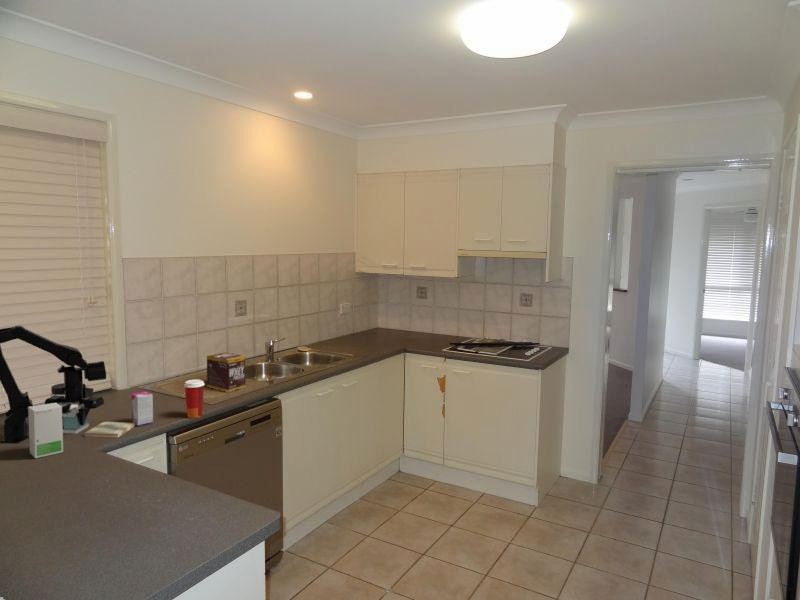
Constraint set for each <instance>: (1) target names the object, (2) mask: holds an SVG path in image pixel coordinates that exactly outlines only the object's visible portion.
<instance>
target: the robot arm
mask: <svg viewBox="0 0 800 600" xmlns="http://www.w3.org/2000/svg"><path fill="white" fill-rule="evenodd" d="M18 339H19V340H20V341H23V342H25V343H28V344H29V345H32V346H34V347H36V348H38V349H40V350H42V351H45V352H47V353H49V354H51V355H53V356H54V357H55V358H57V359H58V360H60V361H61V362H63V364H61V366H60V367H59V368H57V373H58V374H63V380H64V381H63V383H64V387H63V388H62V390H64V391H65V397H64V396H52V397H51V396H50V397H47V398H45V400H44V404H51V403H57V404H59V405H61V406H62V413H64V412H66V411H68V410H69V409H70V406H71V404H75V405H78V406H81V407H80V409H78V411H79V417H80V423H81V425H82V426H83V425H84V424H85V421H86V418H87V419H88V414H89V412H90V411H91V410H92V409H97V408H99V407H101V406H102V405H105V400H104V398H103V397H102V396H93V394H94V390H95V389H94V388H91V387H87V386H86V384H85V383H84V381H83V379H84V380H87V381H88V382H94V381H102V380H104V381H105V380H106V379H107V370H106V365H105V362H104V361H103V360H100V361H95V362H88V361H87V360H86V359H84V358H83V354H82V352H81V351H80V350H79V348H76V347H73V346H69V345H66V344H61V343H57V342H55V341H54V340H51V339H49V338H47V337H44V336H42V335H40V334H37V333H35V332H33V331H31V330H29V329H27V328H25V327H24V326H22V325H15V326H11V327H10V326H9V327H5V328H0V383H1V385H2V387H3V388H2V389H4V391H5V393H6V395H7V401H8V405H9V410H7V411H6V412H5V413H4V414H3V422H4V424H3V434H4V436H3V437H4V438H2V439H1V440H0V443H14V444H15V443H16V444H17V443H21V442H22V441H25V440H27V439H29V434H28V425H27V418H29V414H28V407H30V406H34V404H33V400H32V399H30V397H29V396H30V395H29V392H28V391H25V392H22V390H21V389H20V388H19V385H18V384H17V381H16V379H15V377H14V375H13V372H12V371H11V369H10V367H9V365H8V361H6V359H5V356H4V354H3V350H2V344H3V343H7V342H10V341H14V340H18ZM65 365H66V366H65ZM75 366H76V367H75ZM88 397H89V398H88ZM62 419H63V417H62Z"/></svg>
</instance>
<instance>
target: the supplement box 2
mask: <svg viewBox="0 0 800 600" xmlns="http://www.w3.org/2000/svg"><path fill="white" fill-rule="evenodd" d="M208 387H209V388H208ZM243 387H247V386H246V356H245V355H241V354H238V353H237V354H235V353H232V352H226V351H224V352H223V351H222V352H219V353H213V354H207V355H206V388H208V389H211V388H213V389H212V390H215V389H217V390H216V391H219V390H221V391H220V392H223V391H228V392H229V391H232V390H235V389H239V388H243Z"/></svg>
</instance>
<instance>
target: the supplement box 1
mask: <svg viewBox="0 0 800 600" xmlns="http://www.w3.org/2000/svg"><path fill="white" fill-rule="evenodd" d="M153 398H154V397H153V394H152V393H150V392H149V391H141V392H134V393H131V423H136V426H137V427H138V426H139V427H143V426H146V425H147V426H148V425H151V424H153V423H154V407H153V405H154V403H153V402H154V401H153ZM136 426H135V427H136Z"/></svg>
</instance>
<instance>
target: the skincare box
mask: <svg viewBox="0 0 800 600" xmlns="http://www.w3.org/2000/svg"><path fill="white" fill-rule="evenodd" d="M28 414H29V416H28V435H29V438H28V439H29V440H28V442H29V454H30V455H31V456H32V457H33V458H35V459H38V458H43V457H47V456H52V455H57V454H60V453H61V454H62V453H64V433H63V418H62V406H61V405H59V404H57V403H51V404H45V403H43V404H37V405H33V406H30V407H28Z"/></svg>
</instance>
